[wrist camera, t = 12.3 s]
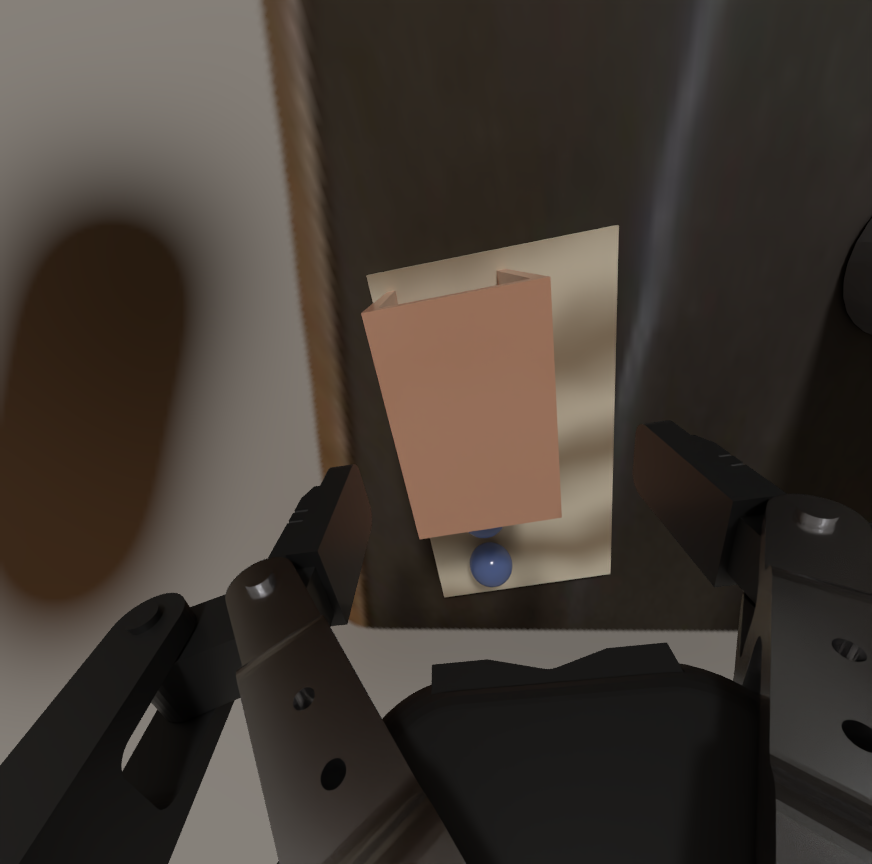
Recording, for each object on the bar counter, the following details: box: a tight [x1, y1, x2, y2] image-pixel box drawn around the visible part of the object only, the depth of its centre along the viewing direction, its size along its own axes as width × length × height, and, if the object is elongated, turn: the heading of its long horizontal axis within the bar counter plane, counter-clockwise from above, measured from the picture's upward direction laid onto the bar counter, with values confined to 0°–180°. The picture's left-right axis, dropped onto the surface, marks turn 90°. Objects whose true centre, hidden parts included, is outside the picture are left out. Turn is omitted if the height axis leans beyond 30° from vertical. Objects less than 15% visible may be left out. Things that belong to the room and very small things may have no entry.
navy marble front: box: [468, 527, 503, 538], centre depth 24 cm, size 3×3×3 cm
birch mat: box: [367, 225, 619, 597], centre depth 25 cm, size 24×13×1 cm, turn 10°
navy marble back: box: [469, 542, 513, 587], centre depth 26 cm, size 3×3×3 cm
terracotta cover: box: [361, 269, 562, 539], centre depth 18 cm, size 10×6×8 cm, turn 10°
